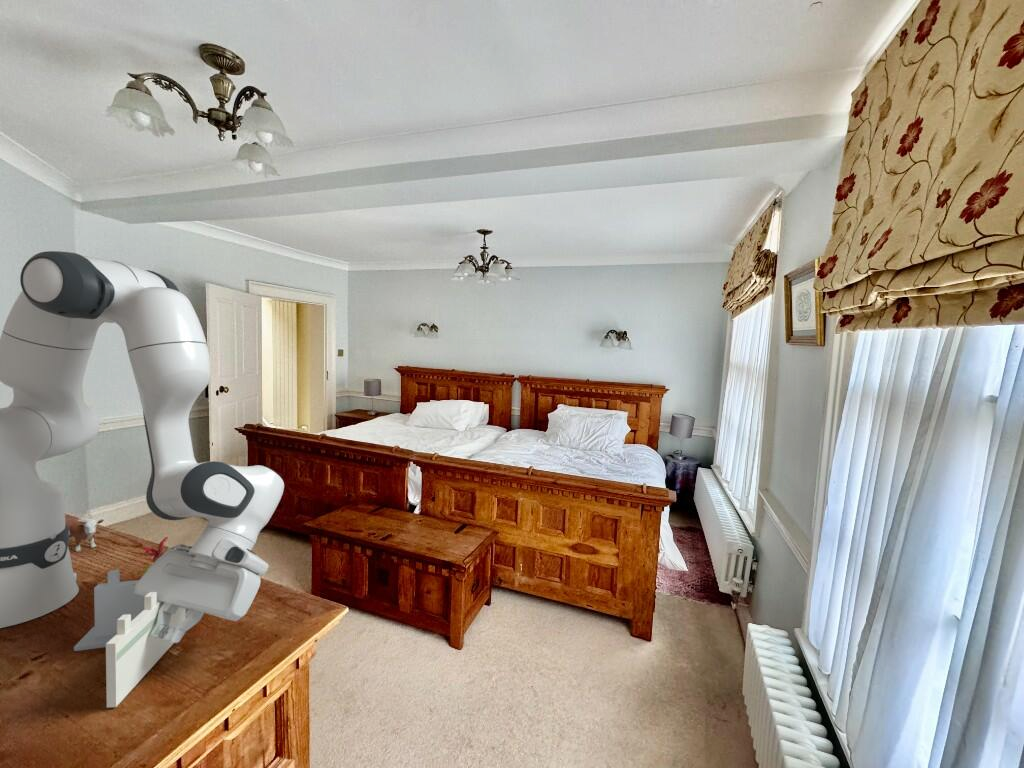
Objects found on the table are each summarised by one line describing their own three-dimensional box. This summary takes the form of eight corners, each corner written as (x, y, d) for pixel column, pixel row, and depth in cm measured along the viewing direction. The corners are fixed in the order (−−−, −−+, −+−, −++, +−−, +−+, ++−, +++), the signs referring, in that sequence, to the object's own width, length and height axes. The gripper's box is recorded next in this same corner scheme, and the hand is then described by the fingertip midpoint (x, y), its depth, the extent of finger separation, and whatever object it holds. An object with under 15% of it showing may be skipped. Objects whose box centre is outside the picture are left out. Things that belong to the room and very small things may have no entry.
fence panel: (182, 622, 77) (183, 561, 75) (194, 622, 77) (194, 561, 76) (103, 707, 59) (102, 629, 58) (119, 706, 59) (118, 628, 58)
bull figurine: (88, 557, 95) (87, 524, 94) (45, 547, 98) (44, 515, 97) (109, 548, 99) (109, 517, 98) (68, 539, 102) (67, 508, 101)
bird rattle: (185, 593, 89) (169, 564, 92) (194, 556, 85) (177, 527, 89) (148, 608, 83) (133, 576, 87) (156, 569, 80) (140, 538, 84)
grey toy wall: (74, 651, 69) (72, 582, 67) (93, 630, 73) (92, 566, 72) (167, 638, 73) (167, 573, 72) (180, 620, 78) (180, 559, 76)
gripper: (161, 535, 73) (96, 621, 64) (257, 557, 69) (203, 651, 61) (185, 547, 78) (127, 629, 69) (276, 568, 74) (228, 656, 65)
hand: (163, 639), depth 65 cm, fingers closed
